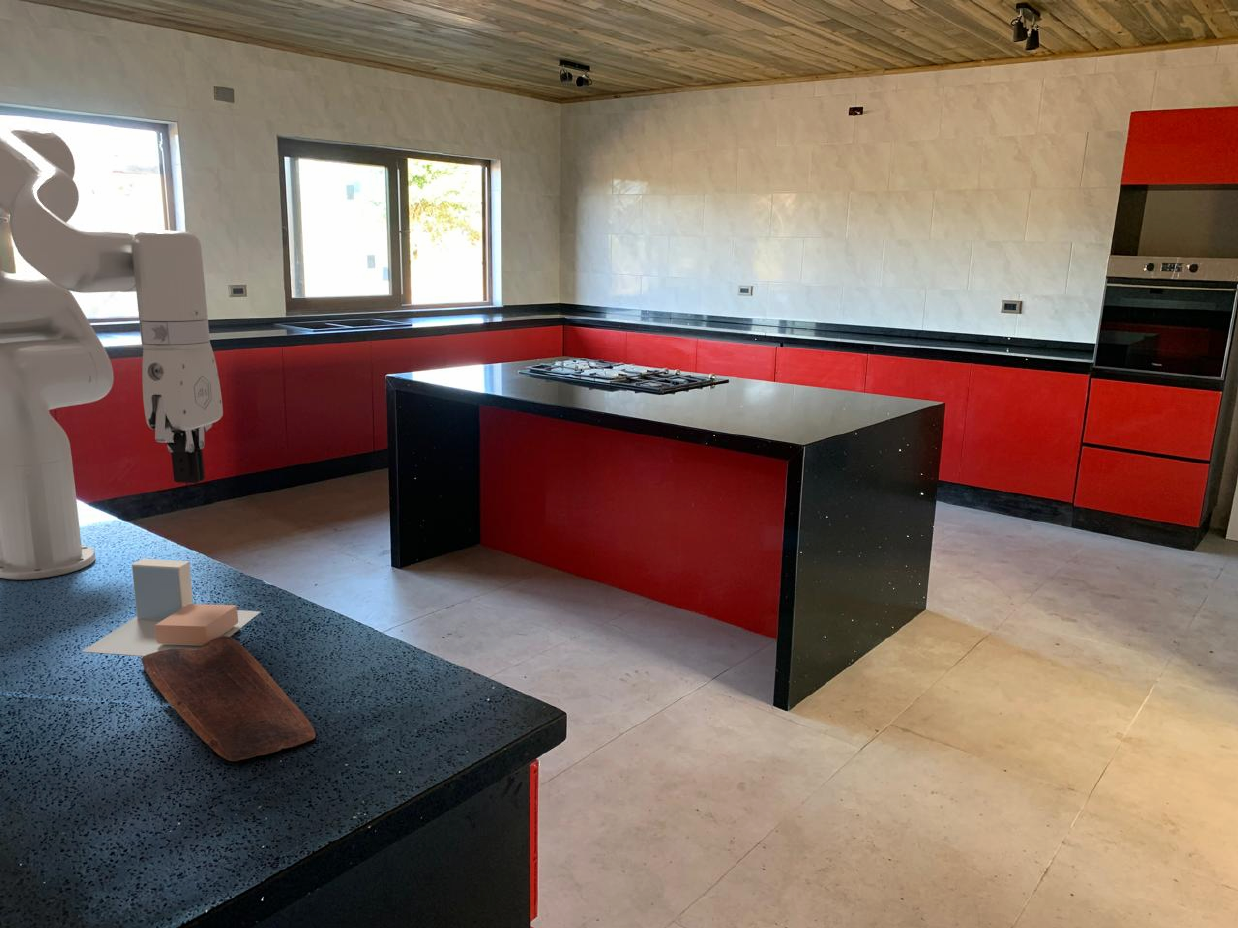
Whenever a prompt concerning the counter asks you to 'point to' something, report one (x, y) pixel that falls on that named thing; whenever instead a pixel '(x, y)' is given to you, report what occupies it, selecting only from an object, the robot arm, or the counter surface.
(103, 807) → the counter surface
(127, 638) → the grey mat
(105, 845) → the counter surface
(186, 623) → the salmon pink block
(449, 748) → the counter surface
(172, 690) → the wooden tablet
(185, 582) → the cream block
